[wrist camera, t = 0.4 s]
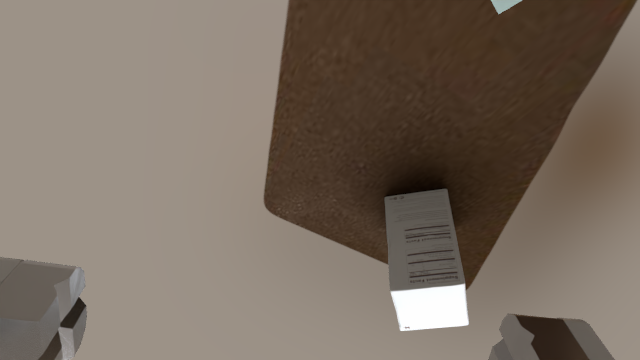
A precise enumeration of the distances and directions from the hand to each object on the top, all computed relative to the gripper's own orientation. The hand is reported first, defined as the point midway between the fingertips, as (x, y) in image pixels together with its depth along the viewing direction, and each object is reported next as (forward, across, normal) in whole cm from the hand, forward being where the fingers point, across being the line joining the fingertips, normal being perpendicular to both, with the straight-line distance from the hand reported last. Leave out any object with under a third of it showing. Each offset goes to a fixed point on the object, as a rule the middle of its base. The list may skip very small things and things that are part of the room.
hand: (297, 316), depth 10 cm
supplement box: (+61, -21, +29) cm, 71 cm away
